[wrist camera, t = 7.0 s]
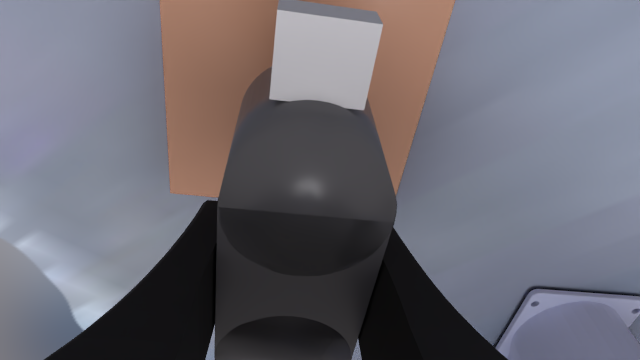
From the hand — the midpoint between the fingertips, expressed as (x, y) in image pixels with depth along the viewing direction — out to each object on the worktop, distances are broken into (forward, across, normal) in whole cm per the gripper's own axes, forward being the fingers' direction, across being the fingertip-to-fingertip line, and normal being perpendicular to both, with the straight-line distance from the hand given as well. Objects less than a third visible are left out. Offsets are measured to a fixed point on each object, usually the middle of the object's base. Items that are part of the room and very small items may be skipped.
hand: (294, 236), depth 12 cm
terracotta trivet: (+9, 0, 0) cm, 9 cm away
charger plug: (+2, 0, 0) cm, 2 cm away
